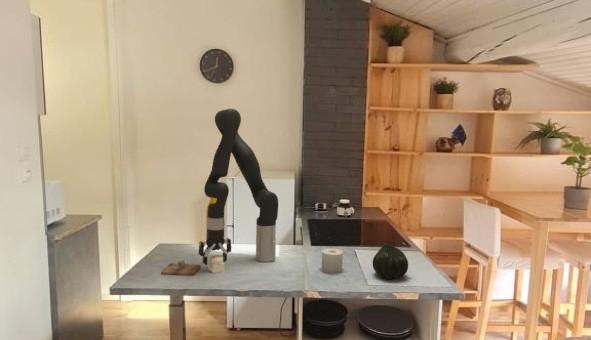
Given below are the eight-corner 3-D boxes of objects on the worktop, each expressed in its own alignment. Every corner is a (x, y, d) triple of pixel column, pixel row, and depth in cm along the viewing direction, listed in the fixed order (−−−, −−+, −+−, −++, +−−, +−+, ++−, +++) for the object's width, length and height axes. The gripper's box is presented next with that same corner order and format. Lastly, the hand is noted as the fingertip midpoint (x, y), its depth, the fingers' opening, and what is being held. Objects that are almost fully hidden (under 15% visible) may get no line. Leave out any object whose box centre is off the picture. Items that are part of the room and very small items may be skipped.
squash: (417, 270, 172) (405, 238, 180) (385, 275, 168) (374, 241, 176) (403, 282, 183) (392, 251, 191) (373, 287, 179) (363, 255, 187)
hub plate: (200, 266, 185) (200, 258, 185) (193, 275, 174) (193, 266, 174) (169, 265, 186) (169, 257, 185) (161, 274, 175) (161, 265, 174)
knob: (219, 267, 185) (220, 253, 185) (225, 271, 181) (225, 256, 180) (208, 269, 182) (208, 255, 182) (212, 273, 178) (213, 258, 177)
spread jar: (336, 217, 293) (337, 200, 291) (337, 213, 304) (338, 198, 302) (353, 218, 291) (354, 201, 289) (354, 214, 302) (354, 199, 300)
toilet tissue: (328, 262, 195) (328, 245, 194) (346, 271, 184) (347, 253, 183) (312, 266, 190) (313, 248, 189) (330, 275, 179) (330, 256, 178)
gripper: (227, 223, 187) (226, 258, 188) (197, 226, 179) (196, 262, 181) (234, 227, 180) (233, 263, 182) (202, 230, 173) (202, 268, 175)
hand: (214, 263), depth 182 cm, fingers open, 8 cm apart
